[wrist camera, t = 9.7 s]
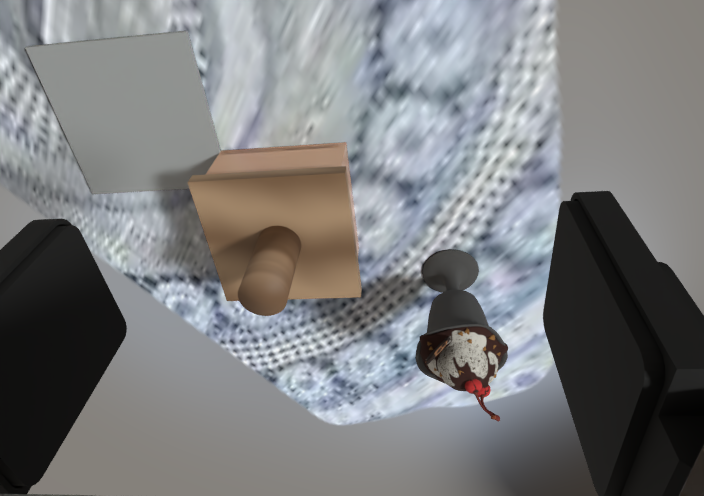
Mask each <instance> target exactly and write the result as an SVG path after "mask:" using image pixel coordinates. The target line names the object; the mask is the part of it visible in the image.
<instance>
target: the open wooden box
mask: <svg viewBox="0 0 704 496" xmlns="http://www.w3.org/2000/svg"><path fill="white" fill-rule="evenodd" d="M339 166H346V168H347V176H348V184H349V192H350V200H351V208H352V216H353V224H354V232H355V240H356V248H357V256H358V252H359V244H358V236H357V228H356V219H355V211H354V203H353V195H352V186H351V178H350V170H349V161H348V153H347V145H346V142H344V143H329V144H314V145H299V146H284V147H269V148H254V149H239V150H224V151H220V153H219V155H218V156H217V158H216V159H215V161H214V162H213V164H212V165H211V167H210V168H209V170H208V171H207V173H206V174H205V175H207V174H224V173H240V172H256V171H273V170H289V169H306V168H322V167H339Z"/></svg>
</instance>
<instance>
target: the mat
mask: <svg viewBox="0 0 704 496" xmlns="http://www.w3.org/2000/svg"><path fill="white" fill-rule="evenodd" d="M25 49H26V51H27V53H28V55H29V57H30V59H31V62H32V64H33V66H34V68H35V70H36V72H37V75H38V77H39V79H40V81H41V83H42V85H43V88H44V90H45V92H46V94H47V96H48V98H49V101H50V103H51V105H52V107H53V109H54V111H55V114H56V116H57V118H58V120H59V122H60V124H61V127H62V129H63V131H64V133H65V135H66V137H67V139H68V142H69V144H70V146H71V148H72V150H73V152H74V155H75V157H76V159H77V161H78V163H79V165H80V168H81V170H82V172H83V174H84V176H85V178H86V181H87V183H88V185H89V187H90V189H91V191H92V194H107V193H124V192H142V191H159V190H176V189H190V188H189V185H188V181H189V179H190V178H191V176H192V175H205V174H206V173H207V171H208V170H209V168H210V167H211V165H212V164H213V162H214V161H215V159H216V158H217V156H218V155H219V153H220V151H221V149H220V145H219V142H218V138H217V135H216V131H215V127H214V124H213V120H212V117H211V113H210V109H209V106H208V102H207V99H206V95H205V91H204V88H203V84H202V81H201V77H200V73H199V70H198V66H197V63H196V59H195V55H194V52H193V48H192V45H191V41H190V37H189V34H188V31H178V32H168V33H158V34H147V35H137V36H127V37H117V38H107V39H96V40H86V41H76V42H66V43H56V44H45V45H35V46H28V47H25Z"/></svg>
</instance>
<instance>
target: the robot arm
mask: <svg viewBox="0 0 704 496" xmlns="http://www.w3.org/2000/svg"><path fill="white" fill-rule="evenodd" d="M543 322H544V329H545V332H546V336H547V339H548V342H549V345H550V348H551V351H552V354H553V358H554V361H555V364H556V367H557V370H558V373H559V377H560V380H561V382H562V386H563V389H564V392H565V395H566V399H567V402H568V405H569V408H570V411H571V414H572V417H573V420H574V424H575V427H576V430H577V433H578V436H579V439H580V443H581V446H582V449H583V452H584V455H585V458H586V461H587V464H588V468H589V471H590V473H591V477H592V480H593V484H594V487H595V489H596V491H597V493H598V495H599V496H704V315H703V314H702V313H701V311H700V310H699V308H698V307H697V305H696V304H695V302H694V301H693V299H692V298H691V296H690V295H689V294H688V292H687V291H686V289H685V288H684V286H683V285H682V283H681V282H680V281H679V279H678V278H677V276H676V275H675V273H674V272H673V270H672V269H671V268H670V267H669V266H668V265H667V264H665V263H662V262H657V261H656V259H655V258H654V256H653V255H652V253H651V252H650V250H649V249H648V247H647V246H646V244H645V243H644V241H643V240H642V238H641V237H640V235H639V234H638V232H637V231H636V229H635V228H634V226H633V225H632V223H631V222H630V220H629V218H628V217H627V215H626V214H625V212H624V211H623V209H622V208H621V207H620V205H619V203H618V202H617V200H616V199H615V197H614V196H613V195H612V193H611V192H610V191H597V192H578V193H574V194H573V195H572V198H571V201H563V202H562V203H561V205H560V209H559V215H558V221H557V228H556V234H555V240H554V247H553V253H552V259H551V266H550V272H549V279H548V285H547V291H546V298H545V304H544V311H543ZM126 329H127V328H126V322H125V319H124V317H123V315H122V313H121V311H120V309H119V307H118V305H117V303H116V302H115V300H114V298H113V296H112V294H111V292H110V290H109V288H108V286H107V284H106V282H105V280H104V278H103V276H102V274H101V272H100V270H99V268H98V266H97V264H96V262H95V260H94V258H93V256H92V254H91V252H90V250H89V248H88V246H87V244H86V242H85V240H84V238H83V236H82V234H81V232H80V231H79V229H78V228H77V227H76V226H73V225H71V223H70V222H68V221H67V220H65V219H44V220H33V221H32V222H30V223H29V224H27V225H26V226H25V227H24V228H23V229H22V230H21V231H20V232H19V233H18V234H17V235H16V236H15V237H14V238H13V239H11V240H10V241H9V242H8V243H7V244H6V245H5V246H4V247H3V248H2V249H1V250H0V496H93V495H37V494H27V493H28V491H29V490H30V488H31V486H33V485H35V484H36V483H37V482H39V481H40V479H41V478H42V477H43V475H44V473H45V472H46V470H47V468H48V466H49V465H50V463H51V461H52V460H53V458H54V456H55V455H56V453H57V451H58V449H59V448H60V446H61V444H62V443H63V441H64V439H65V438H66V436H67V434H68V433H69V431H70V429H71V428H72V426H73V424H74V423H75V421H76V419H77V418H78V416H79V414H80V413H81V411H82V409H83V408H84V406H85V404H86V402H87V401H88V399H89V397H90V396H91V394H92V392H93V391H94V389H95V387H96V385H97V384H98V382H99V381H100V379H101V377H102V375H103V374H104V372H105V370H106V369H107V367H108V365H109V364H110V362H111V360H112V359H113V357H114V355H115V354H116V352H117V350H118V348H119V347H120V345H121V343H122V342H123V340H124V338H125V336H126Z"/></svg>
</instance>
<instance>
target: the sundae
mask: <svg viewBox="0 0 704 496" xmlns="http://www.w3.org/2000/svg"><path fill="white" fill-rule="evenodd" d="M478 272H479V269H478V264H477V262H476V261H475V259H474V258H473V257H472V256H471V255H469V254H468V253H466V252H463V251H460V250H444V251H440V252H438V253H436V254H434V255H433V256H431V257H430V258H429V259H428V260H427V261H426V263H425V264H424V267H423V272H422V273H423V278H424V280H425V282H426V283H427V284H428V285H429V286H430V287H431V288H432V289H434V290H436V291H439V292H443V293H441V294H439V295H438V296H437V297H436V298H435V299H434V300H433V302H432V305H431V309H430V313H429V319H428V328H427V333H426V334H424V335H421V336H420V341H419V343H418V345H417V350H416V362H417V365H418V367H419V369H420V370H421V371H422V372H423V373H424V374H426V375H427V376H429V377H431V378H434V379H436V380H438V381H441V382H443V383H446V384H447V385H449V386H450V387H452V388H453V389H455V390H458V391H467V392H469V393H472V394H475V396H476V398H477V400H478V402H479V404H480V405H481V407H482V408H483V410H484V411H486V412H487V413H488V414H489V415H490V416H491V419H495V420H497V421H500V417H499V416H498V415H495V414H494V413H492V412H491V411H489V410H487V409H486V407H485V405H484V402H483V398H484V397H486V396H488V395H489V394H490V386H489V385H488V384H489V383H490V382H492V381H493V379H494V378H496V373H497V371H498V370H499V369H500V368H501V367H503V366H504V364H505V362H506V360H507V357H508V355H507V351H508V346H507V344H505V343H504V342H503V340H502V339H501V337H500V336H499V335H498V333H497V332H496V331H495V330H493V329H492V328H491V327H489V325H488V323H487V320H486V317H485V315H484V312H483V310H482V308H481V306H480V304H479V303H478V301H477V299H476V298H475V296H474V295H472V294H471V293H469V292H467V291H463V290H465V289H467V288H468V287H470V286H471V285H472V284H473V283H474V282H475V280H476V278H477V276H478ZM479 397H481V401H480V399H479Z"/></svg>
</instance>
